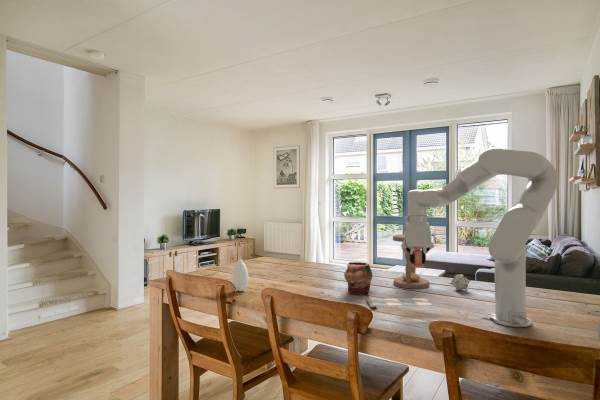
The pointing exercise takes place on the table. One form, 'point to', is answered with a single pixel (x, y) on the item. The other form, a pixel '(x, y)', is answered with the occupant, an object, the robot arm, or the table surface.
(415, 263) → the pawn
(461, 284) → the game die
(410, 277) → the wooden pedestal stand
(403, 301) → the board
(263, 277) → the table surface
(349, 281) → the decorative planter
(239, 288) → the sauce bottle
